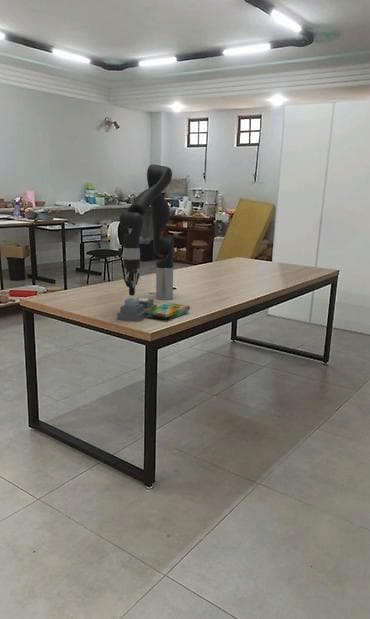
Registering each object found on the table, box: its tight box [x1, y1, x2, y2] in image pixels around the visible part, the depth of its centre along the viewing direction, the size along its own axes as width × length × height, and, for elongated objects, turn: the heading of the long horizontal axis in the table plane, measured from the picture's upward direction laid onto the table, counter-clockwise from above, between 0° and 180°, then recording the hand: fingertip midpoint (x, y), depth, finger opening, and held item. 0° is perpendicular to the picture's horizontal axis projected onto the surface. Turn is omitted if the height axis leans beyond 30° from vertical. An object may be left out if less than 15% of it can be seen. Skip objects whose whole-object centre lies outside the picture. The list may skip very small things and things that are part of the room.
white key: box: [139, 297, 151, 302], centre depth 230 cm, size 5×5×3 cm
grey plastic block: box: [116, 297, 158, 323], centre depth 225 cm, size 22×11×6 cm, turn 162°
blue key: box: [124, 297, 139, 308], centre depth 218 cm, size 5×5×3 cm
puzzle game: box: [146, 302, 191, 321], centre depth 225 cm, size 12×5×20 cm
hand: (132, 295), depth 217 cm, fingers closed
